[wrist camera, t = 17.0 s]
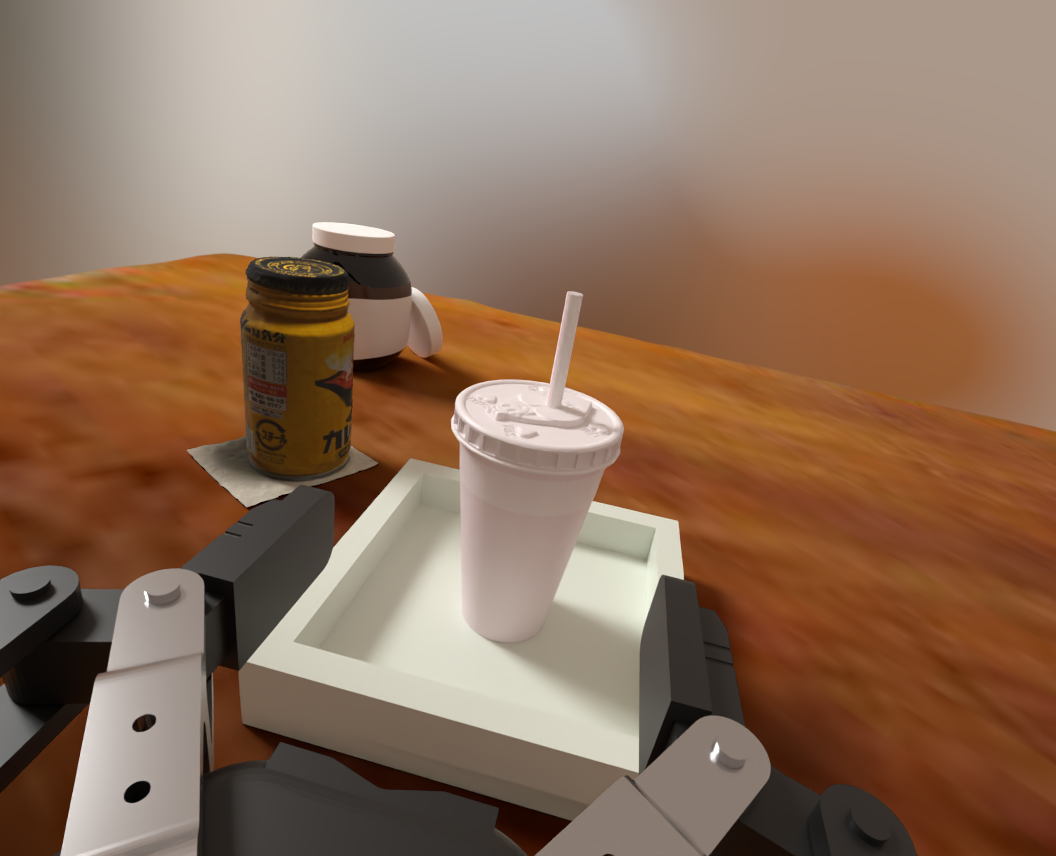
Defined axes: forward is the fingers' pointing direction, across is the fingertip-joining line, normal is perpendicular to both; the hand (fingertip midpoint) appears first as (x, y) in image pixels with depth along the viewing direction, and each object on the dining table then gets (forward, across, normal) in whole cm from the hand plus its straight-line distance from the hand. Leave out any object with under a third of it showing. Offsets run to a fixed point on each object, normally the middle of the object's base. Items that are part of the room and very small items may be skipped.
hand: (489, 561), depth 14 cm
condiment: (+18, -16, -10) cm, 26 cm away
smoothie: (+8, 0, -9) cm, 12 cm away
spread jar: (+39, -20, -10) cm, 45 cm away
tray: (+9, 0, -10) cm, 13 cm away
